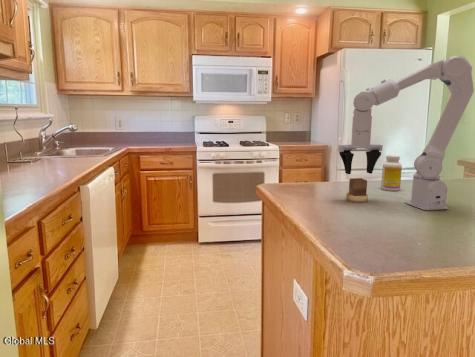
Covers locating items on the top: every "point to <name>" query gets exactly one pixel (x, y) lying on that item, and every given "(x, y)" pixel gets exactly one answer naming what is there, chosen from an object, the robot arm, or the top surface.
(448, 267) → the top surface
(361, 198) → the maple plinth
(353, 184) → the walnut block
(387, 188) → the supplement bottle
